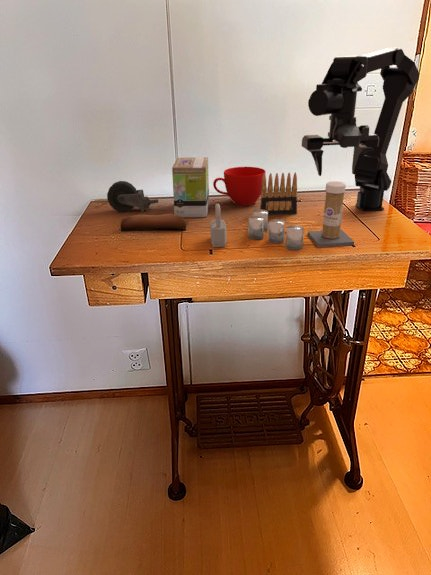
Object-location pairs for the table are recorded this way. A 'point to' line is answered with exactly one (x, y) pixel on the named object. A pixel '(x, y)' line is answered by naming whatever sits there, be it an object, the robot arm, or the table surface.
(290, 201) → the ammunition clip
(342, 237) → the mat
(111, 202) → the caster wheel
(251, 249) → the table surface
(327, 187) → the sprinkles bottle
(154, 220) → the sunglasses case
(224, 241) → the padlock
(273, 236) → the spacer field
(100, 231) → the table surface
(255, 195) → the ceramic cup
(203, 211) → the tea box
